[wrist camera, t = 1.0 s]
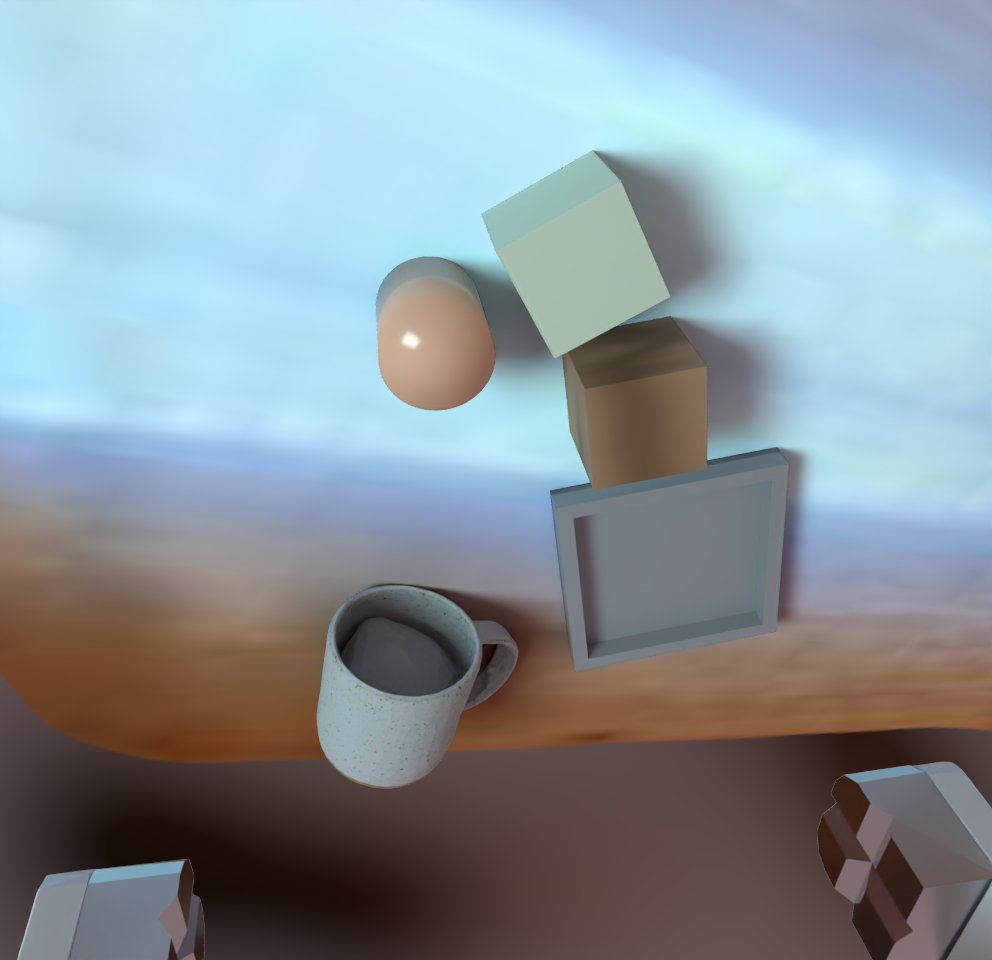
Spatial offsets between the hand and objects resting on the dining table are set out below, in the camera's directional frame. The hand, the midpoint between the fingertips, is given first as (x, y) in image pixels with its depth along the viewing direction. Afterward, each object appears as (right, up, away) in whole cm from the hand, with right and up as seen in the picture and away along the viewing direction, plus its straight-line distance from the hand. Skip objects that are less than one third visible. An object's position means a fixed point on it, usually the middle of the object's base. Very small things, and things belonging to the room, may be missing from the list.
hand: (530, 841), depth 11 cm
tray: (+9, 0, +36) cm, 37 cm away
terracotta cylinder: (-3, +12, +26) cm, 29 cm away
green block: (+2, +15, +25) cm, 29 cm away
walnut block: (+5, +9, +29) cm, 31 cm away
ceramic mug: (-5, -4, +37) cm, 37 cm away
